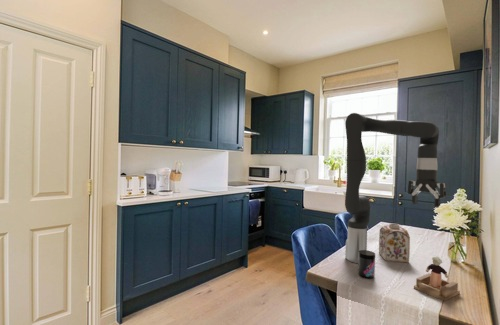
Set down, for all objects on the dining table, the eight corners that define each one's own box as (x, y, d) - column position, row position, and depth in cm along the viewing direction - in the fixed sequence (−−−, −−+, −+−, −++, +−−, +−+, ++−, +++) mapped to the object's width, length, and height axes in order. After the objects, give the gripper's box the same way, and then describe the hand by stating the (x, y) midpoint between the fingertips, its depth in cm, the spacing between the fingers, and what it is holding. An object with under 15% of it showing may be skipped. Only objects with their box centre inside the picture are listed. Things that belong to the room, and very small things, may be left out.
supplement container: (359, 278, 113) (360, 254, 113) (356, 272, 120) (357, 249, 120) (376, 280, 112) (377, 256, 112) (372, 273, 118) (373, 250, 118)
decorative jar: (409, 263, 132) (410, 227, 132) (384, 260, 134) (385, 226, 134) (401, 254, 144) (402, 222, 143) (378, 252, 146) (379, 220, 146)
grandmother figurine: (423, 286, 105) (424, 254, 105) (425, 283, 108) (426, 252, 108) (447, 293, 100) (448, 260, 100) (449, 290, 102) (449, 257, 102)
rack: (413, 288, 105) (414, 278, 105) (428, 281, 112) (429, 272, 111) (445, 301, 96) (445, 290, 96) (459, 293, 102) (460, 283, 102)
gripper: (405, 167, 118) (404, 203, 118) (441, 169, 106) (440, 209, 106) (414, 168, 122) (413, 202, 122) (449, 169, 109) (448, 207, 110)
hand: (425, 205), depth 114 cm, fingers open, 8 cm apart
